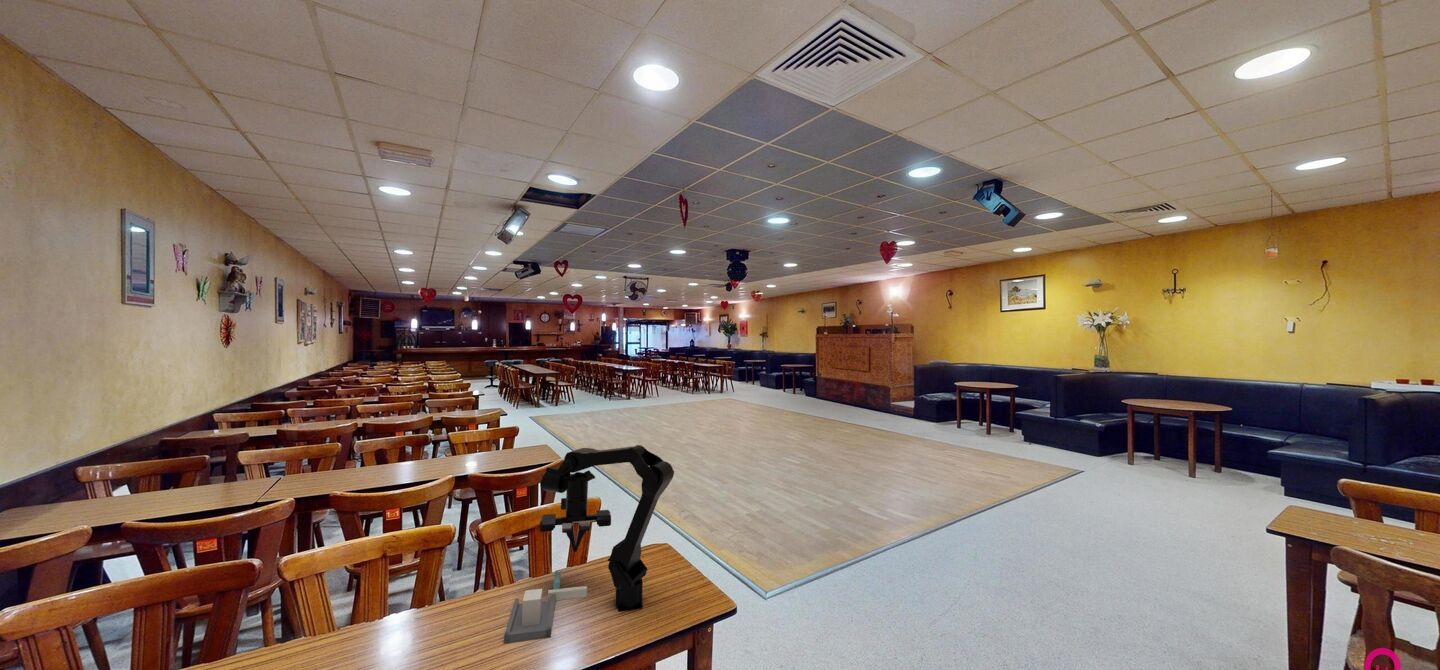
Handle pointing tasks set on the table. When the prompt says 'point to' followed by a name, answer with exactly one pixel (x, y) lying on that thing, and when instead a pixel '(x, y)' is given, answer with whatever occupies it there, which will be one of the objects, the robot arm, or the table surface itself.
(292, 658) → the table surface
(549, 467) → the robot arm
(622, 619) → the table surface
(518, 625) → the grey base plate
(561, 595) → the gate
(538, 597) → the block
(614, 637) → the table surface
